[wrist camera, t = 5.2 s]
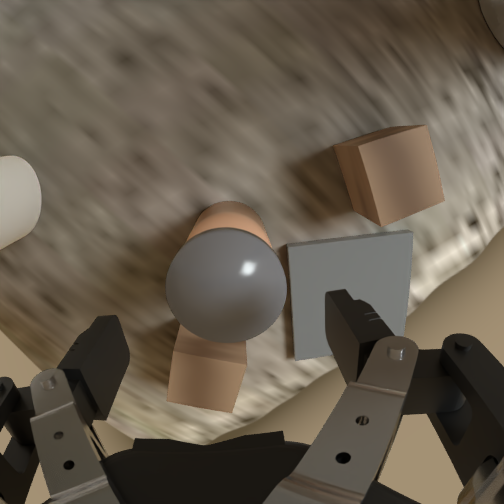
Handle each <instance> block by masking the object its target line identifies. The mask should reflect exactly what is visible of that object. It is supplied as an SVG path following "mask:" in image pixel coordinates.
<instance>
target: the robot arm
mask: <svg viewBox="0 0 504 504" xmlns="http://www.w3.org/2000/svg"><path fill="white" fill-rule="evenodd" d="M479 2H480V7H481V10H482V13H483V15H484V18H485V20H486V22H487V24H488V26H489V28H490V29H491V31H492V33H493V35H494V36H495V37H496V39H497V40H498V42H499V43H500V44H501V45H502V46H503V48H504V0H479ZM325 333H326V339H327V342H328V345H329V347H330V349H331V351H332V353H333V356H334V358H335V360H336V362H337V364H338V366H339V369H340V371H341V373H342V375H343V377H344V379H345V382H346V384H347V387H346V389H345V390H344V392H343V394H342V396H341V398H340V399H339V401H338V403H337V404H336V406H335V408H334V409H333V411H332V413H331V414H330V416H329V418H328V419H327V421H326V423H325V424H324V426H323V428H322V430H321V431H320V432H319V434H318V435H317V437H316V439H315V440H314V442H313V443H312V445H308V444H304V443H298V442H292V441H285V440H284V435H283V431H277V432H270V433H262V434H254V435H244V436H241V437H237V438H234V439H230V440H227V441H223V442H219V443H215V444H211V445H198V444H192V443H186V442H181V441H176V440H171V439H139V438H135V440H134V444H133V448H132V449H128V450H124V451H121V452H118V453H115V454H113V455H111V456H109V455H108V453H107V451H106V450H105V448H104V446H103V444H102V442H101V440H100V438H99V436H98V434H97V432H96V430H95V428H94V427H93V425H92V423H93V420H107V417H108V414H109V412H110V409H111V407H112V404H113V402H114V399H115V396H116V394H117V391H118V389H119V386H120V384H121V382H122V379H123V377H124V374H125V372H126V369H127V367H128V365H129V361H130V353H129V348H128V345H127V342H126V339H125V336H124V334H123V331H122V327H121V324H120V321H119V319H118V317H117V316H116V315H109V316H98V317H97V318H96V319H95V321H94V322H93V323H92V325H91V326H90V328H89V329H87V330H86V331H84V332H83V333H82V334H80V335H79V336H78V338H77V339H76V341H75V342H74V345H72V346H71V348H70V349H69V351H68V352H67V353H66V355H65V356H64V358H63V359H62V361H61V362H60V364H59V365H58V367H57V368H53V369H47V370H44V371H42V372H40V373H39V374H38V375H36V376H35V377H34V378H33V380H32V381H31V384H30V386H28V387H23V388H17V387H16V386H15V384H14V382H13V380H12V379H11V378H9V377H1V378H0V432H1V430H2V428H3V426H5V427H6V429H7V430H8V431H9V433H10V434H11V436H12V438H11V440H10V442H9V444H8V446H7V448H6V450H5V452H4V454H3V455H2V454H1V453H0V504H25V501H26V498H27V495H28V492H29V489H30V486H31V483H32V481H33V478H34V475H35V473H36V470H37V467H38V465H39V462H40V464H41V467H42V471H43V474H44V478H45V480H46V484H47V487H48V490H49V493H50V496H51V498H49V499H48V500H46V501H45V502H44V503H42V504H421V503H418V502H416V501H414V500H412V499H410V498H408V497H406V496H404V495H402V494H400V493H398V492H396V491H394V490H392V489H391V488H389V487H387V486H385V485H383V484H381V483H379V482H378V480H379V477H380V475H381V473H382V470H383V468H384V465H385V463H386V460H387V457H388V455H389V452H390V450H391V447H392V445H393V442H394V440H395V437H396V434H397V431H398V428H399V425H400V423H401V420H402V417H403V415H410V414H427V415H428V417H429V419H430V421H431V423H432V425H433V427H434V428H435V430H436V432H437V434H438V436H439V438H440V440H441V442H442V444H443V446H444V448H445V449H446V451H447V454H448V456H449V457H450V459H451V461H452V463H453V465H454V468H455V470H456V472H457V474H458V475H459V478H460V480H461V482H462V484H463V486H464V488H463V489H462V491H461V492H460V494H459V496H458V501H457V504H504V367H503V366H502V364H501V363H499V361H498V360H497V359H496V358H495V357H494V356H493V355H492V354H491V353H490V351H489V350H488V349H487V348H486V347H485V346H484V345H483V344H482V343H481V342H480V341H479V340H478V339H477V338H475V337H473V336H471V335H468V334H452V335H450V336H448V337H446V338H445V340H444V341H443V345H442V349H430V350H420V349H418V346H417V345H416V343H415V342H414V341H412V340H410V339H409V338H406V337H402V336H395V335H394V333H393V332H392V331H391V330H390V328H389V327H388V326H387V325H386V323H385V322H384V321H383V320H382V319H381V317H380V316H379V315H378V313H376V311H375V310H374V308H373V307H372V306H371V305H370V304H368V303H367V302H365V301H363V300H361V299H358V300H354V299H353V298H352V297H351V295H350V294H349V293H348V291H347V290H346V289H340V290H334V291H327V292H326V293H325Z"/></svg>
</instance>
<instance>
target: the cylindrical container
mask: <svg viewBox="0 0 504 504" xmlns="http://www.w3.org/2000/svg"><path fill="white" fill-rule="evenodd" d="M41 204H42V202H41V189H40V184H39V181H38V178H37V176H36V173H35V171H34V170H33V168H32V167H31V165H30V164H29V163H28V162H27V161H26V160H24V159H22V158H21V157H18V156H3V157H0V250H1V249H3V248H4V247H6V246H8V245H10V244H12V243H13V242H15V241H17V240H19V239H21V238H23V237H25V236H26V235H28V234H29V233H30V232H31V231H32V230H33V228H34V227H35V225H36V223H37V221H38V219H39V215H40V211H41Z"/></svg>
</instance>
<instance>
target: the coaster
mask: <svg viewBox="0 0 504 504" xmlns="http://www.w3.org/2000/svg"><path fill="white" fill-rule="evenodd" d="M286 246H287V258H288V272H289V286H290V300H291V315H292V332H293V350H294V358H295V361H298V360H305V359H311V358H317V357H323V356H329V355H333V353H332V351H331V349H330V347H329V345H328V342H327V339H326V333H325V293H326V292H327V291H334V290H340V289H346V290H347V291H348V293H349V294H350V295H351V297H352V298H353V299H354V300H358V299H361V300H363V301H365V302H367V303H368V304H370V305H371V306H372V307H373V308H374V310H375V311H376V313H378V315H379V316H380V317H381V319H382V320H383V321H384V322H385V323H386V325H387V326H388V327H389V328H390V330H391V331H392V332H393V333H394V335H395V336H402V337H403V336H404V329H405V322H406V315H407V307H408V298H409V288H410V277H411V265H412V249H413V232H412V231H410V230H401V231H392V232H384V233H375V234H367V235H358V236H350V237H341V238H333V239H324V240H316V241H308V242H299V243H291V244H286Z"/></svg>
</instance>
